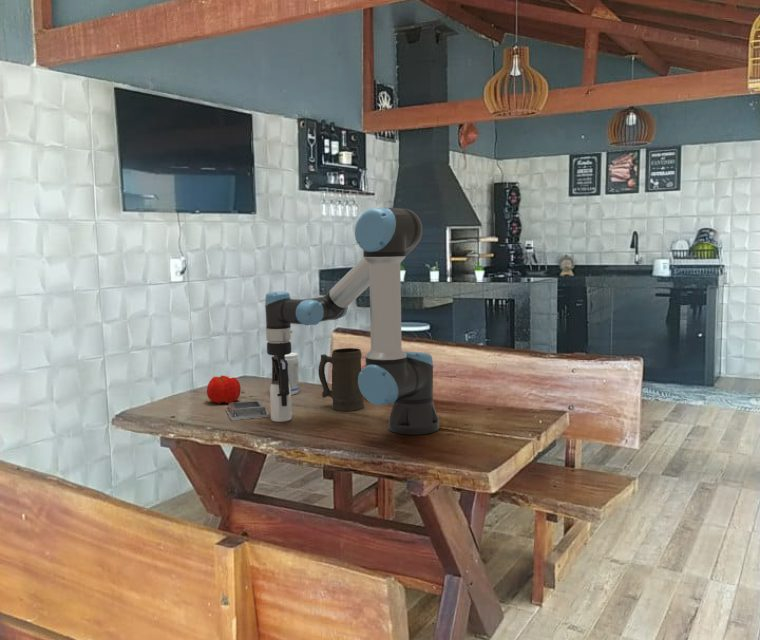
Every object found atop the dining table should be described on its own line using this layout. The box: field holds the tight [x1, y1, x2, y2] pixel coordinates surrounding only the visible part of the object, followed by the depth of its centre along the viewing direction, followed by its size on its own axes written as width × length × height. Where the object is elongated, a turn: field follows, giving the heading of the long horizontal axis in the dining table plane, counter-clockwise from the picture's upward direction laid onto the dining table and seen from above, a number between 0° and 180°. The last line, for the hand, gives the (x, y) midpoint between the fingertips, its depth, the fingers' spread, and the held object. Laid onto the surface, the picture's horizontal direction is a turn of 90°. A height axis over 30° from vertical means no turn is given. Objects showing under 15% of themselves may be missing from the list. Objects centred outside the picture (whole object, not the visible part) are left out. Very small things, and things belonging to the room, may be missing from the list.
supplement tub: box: [272, 351, 300, 396], centre depth 266 cm, size 10×10×15 cm
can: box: [269, 381, 293, 423], centre depth 227 cm, size 6×6×12 cm
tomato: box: [206, 375, 242, 404], centre depth 253 cm, size 11×12×9 cm
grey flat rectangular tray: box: [225, 399, 270, 421], centre depth 236 cm, size 14×12×3 cm
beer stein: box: [317, 347, 365, 412], centre depth 242 cm, size 15×11×20 cm
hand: (281, 412), depth 228 cm, fingers open, 8 cm apart
